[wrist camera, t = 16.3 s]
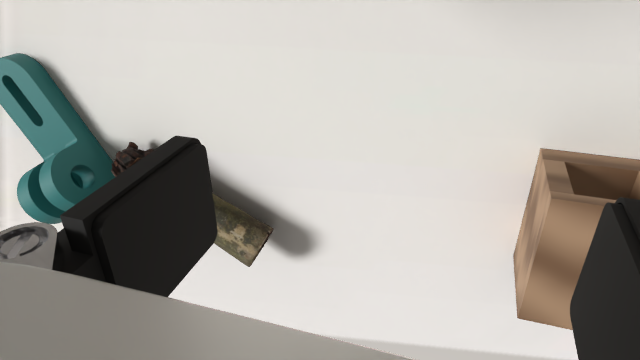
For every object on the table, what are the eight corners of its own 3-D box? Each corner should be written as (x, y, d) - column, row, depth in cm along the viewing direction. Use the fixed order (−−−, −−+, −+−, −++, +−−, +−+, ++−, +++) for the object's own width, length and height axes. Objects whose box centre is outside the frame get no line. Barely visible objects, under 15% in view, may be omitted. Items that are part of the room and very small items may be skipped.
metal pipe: (279, 221, 49) (256, 252, 44) (256, 260, 52) (232, 293, 48) (142, 129, 49) (104, 150, 44) (128, 174, 53) (91, 198, 48)
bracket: (129, 182, 54) (79, 218, 47) (95, 199, 57) (45, 235, 51) (26, 42, 49) (-45, 61, 42) (-5, 69, 52) (-75, 91, 46)
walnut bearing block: (540, 148, 37) (551, 198, 31) (654, 161, 35) (692, 218, 28) (513, 256, 43) (517, 318, 36) (610, 273, 40) (633, 342, 34)
